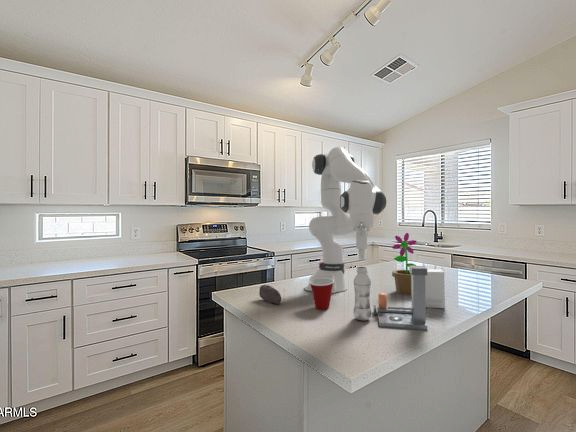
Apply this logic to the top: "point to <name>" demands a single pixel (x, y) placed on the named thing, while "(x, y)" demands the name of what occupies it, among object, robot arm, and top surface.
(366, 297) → the plastic bottle
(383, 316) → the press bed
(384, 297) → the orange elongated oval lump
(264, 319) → the top surface
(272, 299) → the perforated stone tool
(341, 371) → the top surface
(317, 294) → the plastic cup
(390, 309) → the rail
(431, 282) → the skincare box
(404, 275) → the flowerpot
